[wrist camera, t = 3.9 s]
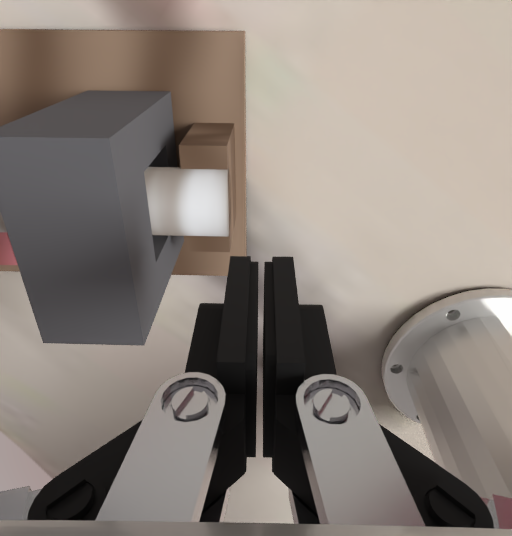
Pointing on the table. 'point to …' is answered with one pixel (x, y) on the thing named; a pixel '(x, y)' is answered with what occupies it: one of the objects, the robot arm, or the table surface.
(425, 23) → the table surface
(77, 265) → the collar
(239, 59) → the pipe rig
